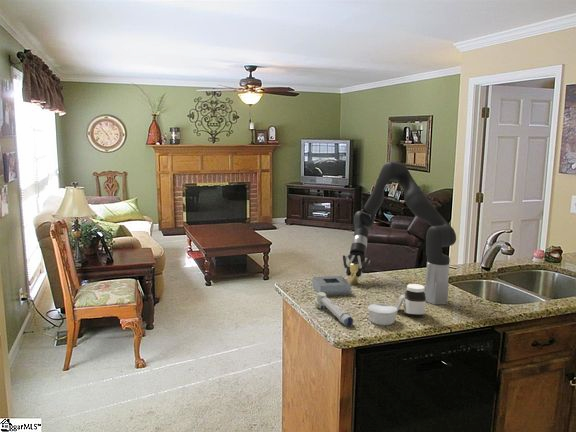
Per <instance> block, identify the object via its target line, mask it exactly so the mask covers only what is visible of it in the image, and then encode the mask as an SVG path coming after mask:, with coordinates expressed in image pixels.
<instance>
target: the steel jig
mask: <svg viewBox="0 0 576 432" xmlns="http://www.w3.org/2000/svg"><path fill="white" fill-rule="evenodd" d="M351 287H352V284H350V283H349V280H347V279H346V278H344V276H342V275H326V276H325V275H324V276H323V275H322V276H312V288H313V289H315V291H316V293H317V294H318V293H319V292H323V293H325V294H326V296H341V295H344V296H345V295H351V290H352V288H351Z"/></svg>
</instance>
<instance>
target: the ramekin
mask: <svg viewBox="0 0 576 432" xmlns="http://www.w3.org/2000/svg"><path fill="white" fill-rule="evenodd" d="M367 311H368V319H369V320H370V322H371V323H372V324H375V325H378V326H389V325H390V326H391V325H393V324H394V323H395V321H396V317H397V314H398V311H397V308H396V307H395V305H391V304H387V303H381V302H379V303H372V304H369V305H368V306H367ZM392 323H393V324H392Z"/></svg>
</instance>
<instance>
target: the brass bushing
mask: <svg viewBox="0 0 576 432" xmlns="http://www.w3.org/2000/svg"><path fill="white" fill-rule="evenodd" d="M358 269H359V264H358V263H350V272H349V276H348V277H349V278H348V279H349V280H348V282H349V283H350V284H351V285H358V284H359V278H360V276H359V277H358V276H357V275H358Z"/></svg>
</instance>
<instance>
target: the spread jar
mask: <svg viewBox="0 0 576 432" xmlns="http://www.w3.org/2000/svg"><path fill="white" fill-rule="evenodd" d="M402 304H403V310H404V311H403V312H404V315H406V316H407V315H408V316H407V317H410V316H411V318H421V317H424V316H425V314H426V306H427V305H426V304H427V303H426V296H425V285H422V284H418V283H408V284H407V285H406V290H405V293H404V294H400V296H399V298H398V299H397V301H396V304H395V305H394V307H396V308H397V312H398V311H400V308H401V306H402Z"/></svg>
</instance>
